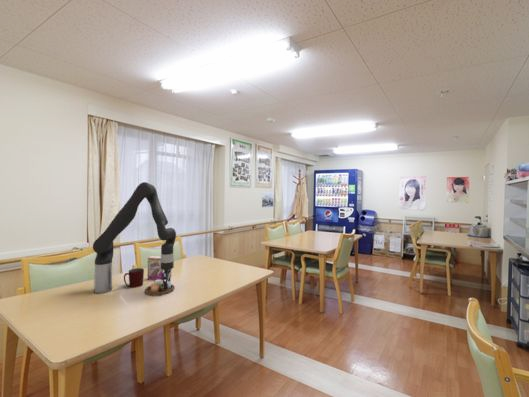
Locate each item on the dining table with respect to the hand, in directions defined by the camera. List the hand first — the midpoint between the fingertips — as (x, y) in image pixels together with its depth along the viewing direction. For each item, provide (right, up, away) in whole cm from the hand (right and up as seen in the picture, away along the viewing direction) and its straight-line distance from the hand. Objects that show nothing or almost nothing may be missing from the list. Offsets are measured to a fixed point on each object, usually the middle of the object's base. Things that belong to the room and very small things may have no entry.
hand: (167, 286), depth 164 cm
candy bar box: (-15, -3, +21) cm, 26 cm away
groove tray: (-4, -3, -1) cm, 5 cm away
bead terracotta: (-6, -2, -4) cm, 7 cm away
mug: (-24, -3, +7) cm, 25 cm away
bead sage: (-7, -2, +3) cm, 8 cm away
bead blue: (0, -2, 0) cm, 2 cm away
